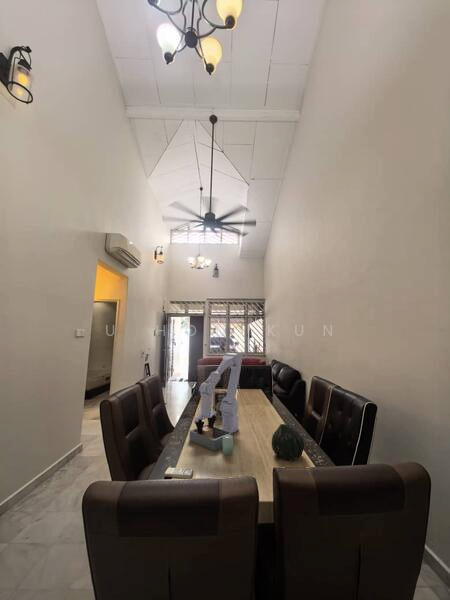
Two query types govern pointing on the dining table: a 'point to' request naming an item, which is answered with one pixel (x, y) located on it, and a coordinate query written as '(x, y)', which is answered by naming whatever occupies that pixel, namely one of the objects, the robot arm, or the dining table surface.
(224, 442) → the sage cylinder
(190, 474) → the dining table surface
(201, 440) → the tray
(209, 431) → the terracotta cube
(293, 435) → the squash
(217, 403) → the coffee box
